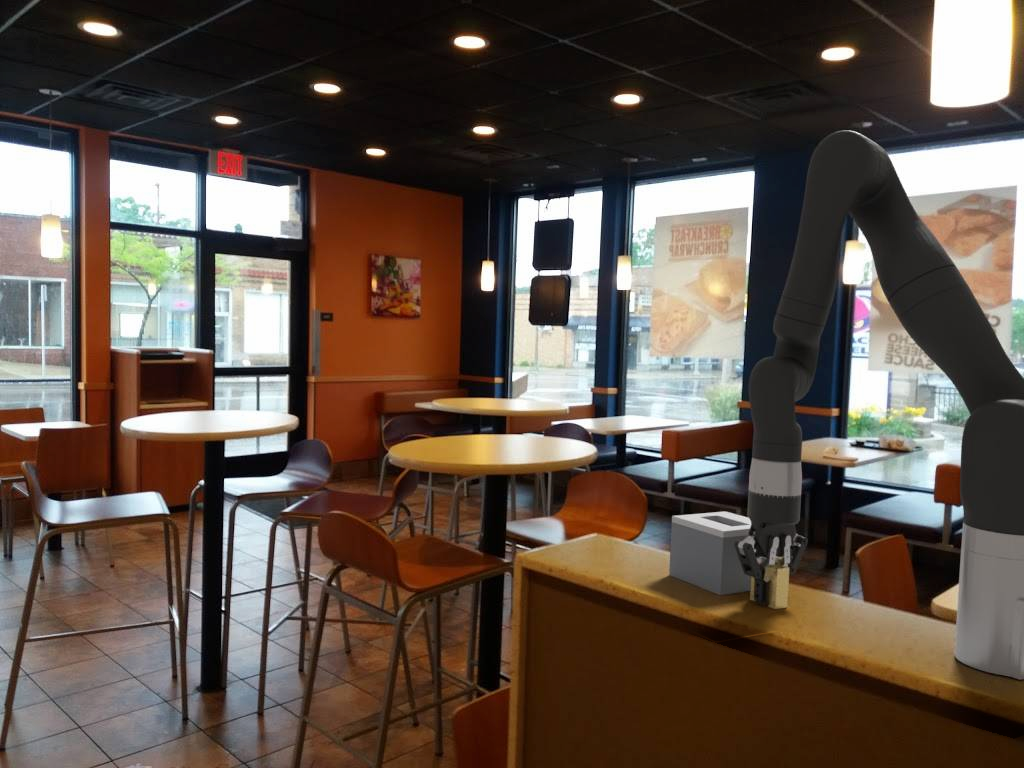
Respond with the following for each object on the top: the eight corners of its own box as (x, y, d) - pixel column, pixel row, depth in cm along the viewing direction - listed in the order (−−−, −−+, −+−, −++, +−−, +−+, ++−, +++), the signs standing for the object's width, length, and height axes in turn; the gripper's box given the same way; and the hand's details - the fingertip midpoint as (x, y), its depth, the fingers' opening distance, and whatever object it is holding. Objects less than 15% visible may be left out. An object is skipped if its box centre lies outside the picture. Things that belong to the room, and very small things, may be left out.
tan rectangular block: (787, 607, 122) (789, 567, 122) (775, 609, 121) (777, 569, 120) (761, 597, 126) (763, 559, 126) (750, 599, 125) (752, 560, 125)
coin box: (775, 586, 132) (778, 525, 132) (720, 595, 127) (723, 531, 126) (722, 568, 143) (725, 511, 142) (669, 575, 137) (672, 515, 137)
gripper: (760, 496, 116) (753, 616, 117) (826, 491, 123) (820, 605, 124) (722, 487, 122) (716, 601, 123) (787, 483, 129) (781, 591, 130)
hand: (768, 602), depth 123 cm, fingers closed on tan rectangular block, 2 cm apart
